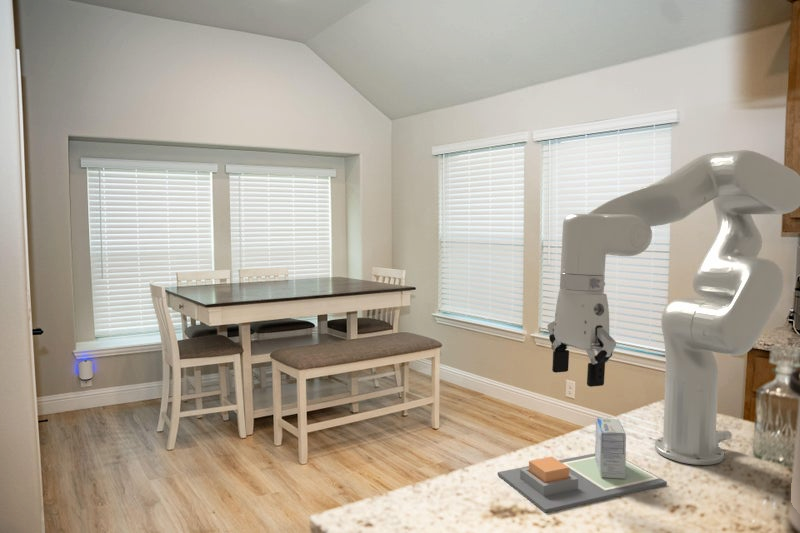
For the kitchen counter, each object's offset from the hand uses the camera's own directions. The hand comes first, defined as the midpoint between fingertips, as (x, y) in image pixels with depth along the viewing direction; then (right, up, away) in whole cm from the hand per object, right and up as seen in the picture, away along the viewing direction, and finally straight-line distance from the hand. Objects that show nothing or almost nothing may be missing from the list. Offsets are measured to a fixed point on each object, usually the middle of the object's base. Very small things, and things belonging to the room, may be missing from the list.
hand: (577, 378), depth 105 cm
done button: (-5, -18, 0) cm, 18 cm away
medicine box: (+8, -18, +5) cm, 20 cm away
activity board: (+1, -19, +2) cm, 19 cm away
